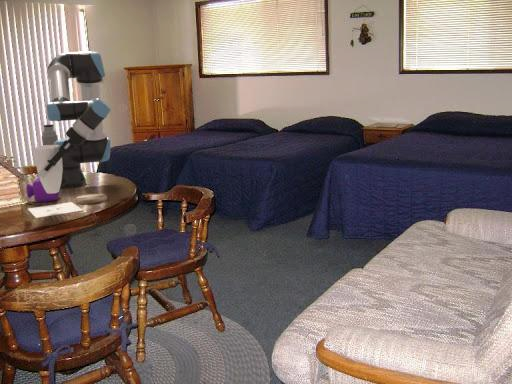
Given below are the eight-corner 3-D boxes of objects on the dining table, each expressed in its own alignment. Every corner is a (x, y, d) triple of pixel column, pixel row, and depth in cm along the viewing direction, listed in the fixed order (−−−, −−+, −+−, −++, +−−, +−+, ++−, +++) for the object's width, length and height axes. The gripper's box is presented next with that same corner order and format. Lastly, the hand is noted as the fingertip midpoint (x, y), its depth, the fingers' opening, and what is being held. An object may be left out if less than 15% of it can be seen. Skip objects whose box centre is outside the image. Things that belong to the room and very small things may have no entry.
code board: (27, 209, 230) (27, 208, 230) (71, 202, 239) (71, 202, 239) (36, 218, 215) (35, 217, 215) (82, 210, 224) (82, 210, 224)
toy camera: (26, 199, 248) (23, 177, 246) (58, 196, 253) (56, 174, 251) (27, 204, 238) (24, 182, 236) (60, 200, 243) (58, 178, 241)
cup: (63, 201, 221) (57, 148, 216) (36, 203, 220) (29, 149, 215) (69, 195, 231) (64, 144, 226) (44, 196, 230) (37, 145, 225)
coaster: (72, 200, 244) (72, 196, 243) (101, 195, 250) (101, 192, 250) (80, 205, 233) (80, 202, 233) (110, 200, 240) (110, 197, 239)
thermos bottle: (43, 177, 298) (37, 125, 292) (51, 175, 306) (45, 124, 300) (57, 177, 297) (51, 125, 291) (64, 175, 305) (58, 123, 299)
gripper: (84, 142, 212) (45, 185, 213) (89, 135, 234) (54, 174, 234) (68, 129, 210) (29, 173, 211) (74, 123, 232) (39, 162, 232)
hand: (42, 173), depth 223 cm, fingers closed on cup, 10 cm apart
